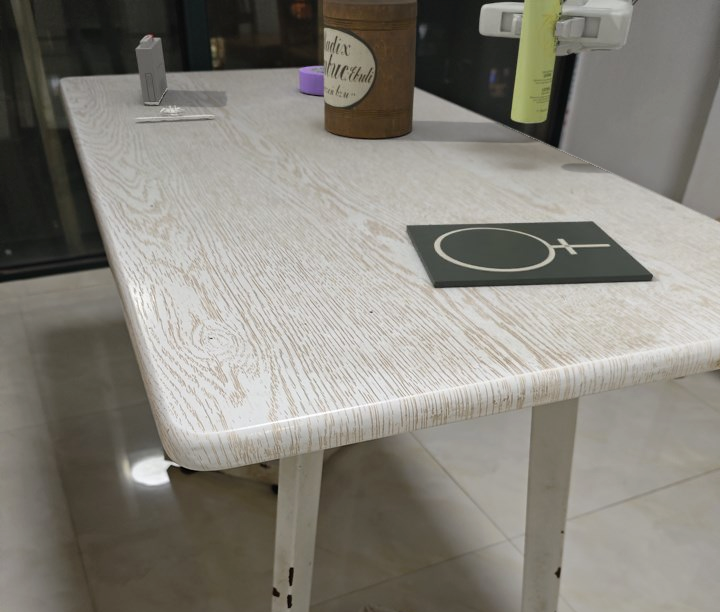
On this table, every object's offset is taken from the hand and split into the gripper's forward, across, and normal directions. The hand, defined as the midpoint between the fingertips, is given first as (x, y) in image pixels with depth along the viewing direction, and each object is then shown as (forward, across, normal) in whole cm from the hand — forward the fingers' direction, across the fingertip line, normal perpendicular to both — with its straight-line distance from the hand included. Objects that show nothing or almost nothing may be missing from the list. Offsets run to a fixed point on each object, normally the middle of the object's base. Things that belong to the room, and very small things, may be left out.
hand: (538, 28), depth 91 cm
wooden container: (-10, -30, +17) cm, 36 cm away
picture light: (+1, -62, +17) cm, 64 cm away
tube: (-1, 0, +11) cm, 11 cm away
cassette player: (-12, -77, +17) cm, 80 cm away
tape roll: (-36, -52, +17) cm, 66 cm away
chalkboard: (+33, +10, +17) cm, 38 cm away
